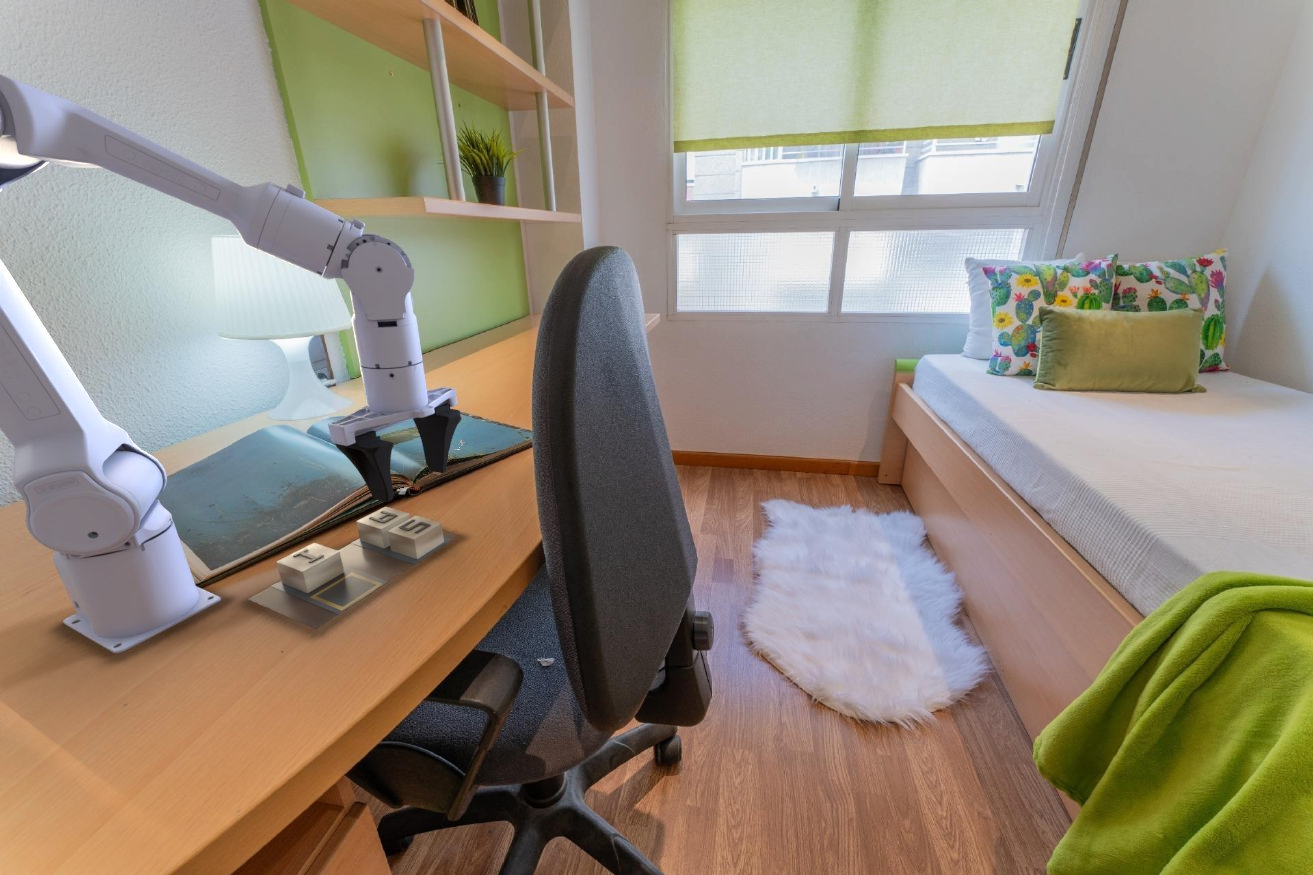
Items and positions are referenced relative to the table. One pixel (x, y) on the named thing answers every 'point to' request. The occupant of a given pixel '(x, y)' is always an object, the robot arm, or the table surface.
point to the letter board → (342, 583)
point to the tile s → (416, 537)
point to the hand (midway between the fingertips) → (411, 484)
